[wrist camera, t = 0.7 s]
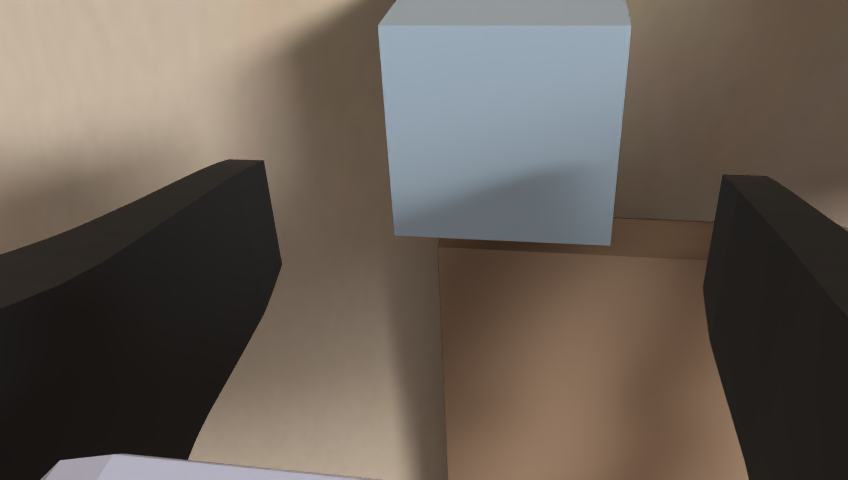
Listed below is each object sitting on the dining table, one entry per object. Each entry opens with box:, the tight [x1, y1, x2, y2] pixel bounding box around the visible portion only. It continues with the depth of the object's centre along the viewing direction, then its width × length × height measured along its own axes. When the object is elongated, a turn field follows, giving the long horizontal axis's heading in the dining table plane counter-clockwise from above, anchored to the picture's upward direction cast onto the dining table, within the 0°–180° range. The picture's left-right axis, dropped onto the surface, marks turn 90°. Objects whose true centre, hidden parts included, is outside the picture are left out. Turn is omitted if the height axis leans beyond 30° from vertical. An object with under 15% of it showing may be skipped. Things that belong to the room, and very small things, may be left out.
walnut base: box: [438, 218, 848, 480], centre depth 24 cm, size 14×14×2 cm
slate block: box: [378, 0, 632, 246], centre depth 17 cm, size 4×4×6 cm
